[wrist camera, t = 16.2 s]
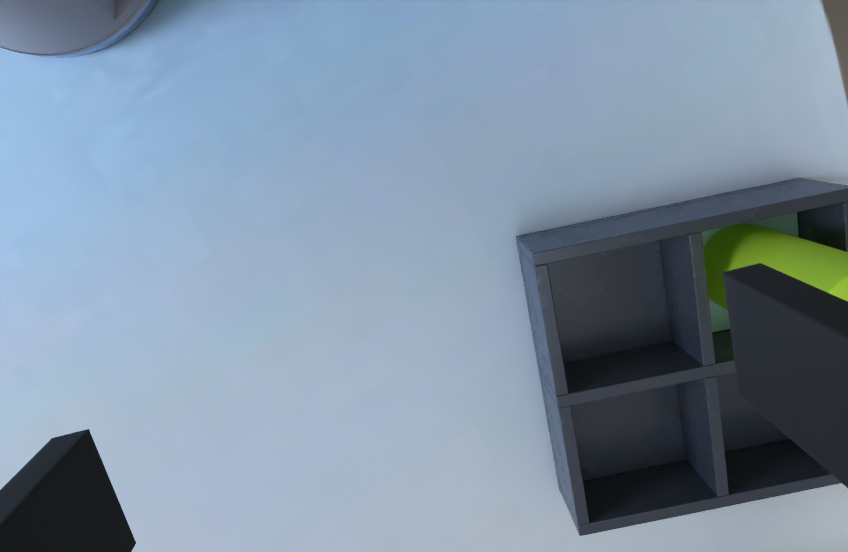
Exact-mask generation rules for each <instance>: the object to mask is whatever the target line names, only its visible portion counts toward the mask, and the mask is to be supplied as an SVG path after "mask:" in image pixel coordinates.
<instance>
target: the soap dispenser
mask: <svg viewBox="0 0 848 552" xmlns="http://www.w3.org/2000/svg"><path fill="white" fill-rule="evenodd" d="M703 249H704V258H705V268H706V277H707V287H708V297H709V299H710V300H711V301H713V302H714V303H716V304H717V305H719V306H721V307H723V308H724V309H726V310H728V308H727V300H726V293H725V285H724V277H723V272H726V271H730V270H734V269H738V268H742V267H746V266H750V265H754V264H758V263H762V264H764V265H766V266H768V267H771V268H773V269H775V270H778V271H780V272H782V273H784V274H787V275H789V276H791V277H793V278H796V279H798V280H800V281H802V282H805V283H807V284H809V285H812V286H814V287H816V288H818V289H821V290H823V291H825V292H827V293H830V294H832V295H834V296H836V297H839V298H841V299H843V300H845V301H848V252H845V251H842V250H838V249H835V248H832V247H828V246H825V245H822V244H819V243H815V242H812V241H809V240H805V239H802V238H799V237H795V236H792V235H789V234H785V233H782V232H779V231H776V230H772V229H769V228H766V227H762V226H759V225H756V224H750V223H741V224H737V225H732V226H728V227H726V228H724V229H722V230H720V231H719V232H717V233H716V234H715V235H714V236H712V237H711V238H710V239H709V241H708V242H707V243H706V244H705V246H704V248H703Z"/></svg>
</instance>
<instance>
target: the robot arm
mask: <svg viewBox="0 0 848 552" xmlns="http://www.w3.org/2000/svg"><path fill="white" fill-rule="evenodd" d="M156 2H157V0H0V47H1V48H4V49H7V50H11V51H15V52H19V53H25V54H31V55H37V56H44V57H73V56H80V55H85V54H89V53H92V52H96V51H98V50H101V49H104V48H106V47H108V46H110V45H112V44H114V43H116V42H118V41H119V40H121V39H122V38H124V37H125V36H127V35H128V34H129V33H130V32H131V31H133V30H134V29H135V28H136V27H137V26H138V25H139V24H140V23H141V22H142V21H143V20H144V19H145V17H146V16H147V15H148V14H149V12H150V11H151V10H152V8H153V7H154V5H155V3H156ZM723 277H724V285H725V293H726V300H727V308H728V315H729V323H730V331H731V338H732V346H733V354H734V361H735V369H736V376H737V384H738V392H739V396H740V397H741V398H743V399H744V400H745V401H746V402H747V403H748V404H750V405H751V406H752V407H753V408H754V409H755V410H757V411H758V412H759V413H760V414H761V415H763V416H764V417H765V418H766V419H767V420H768V421H770V422H771V423H772V424H773V425H774V426H776V427H777V428H778V429H779V430H780V431H781V432H783V433H784V434H785V435H786V436H787V437H789V438H790V439H791V440H792V441H793V442H794V443H796V444H797V445H798V446H799V447H800V448H801V449H803V450H804V451H805V452H806V453H807V454H809V455H810V456H811V457H812V458H813V459H814V460H816V461H817V462H818V463H819V464H820V465H822V466H823V467H824V468H825V469H826V470H827V471H829V472H830V473H831V474H832V475H833V476H834V477H836V478H837V479H838V480H839V481H840V482H842V483H843V484H844V485H845V486H846V487H847V488H848V301H845V300H843V299H841V298H839V297H836V296H834V295H832V294H830V293H827V292H825V291H823V290H821V289H818V288H816V287H814V286H812V285H809V284H807V283H805V282H802V281H800V280H798V279H796V278H793V277H791V276H789V275H787V274H784V273H782V272H780V271H778V270H775V269H773V268H771V267H768V266H766V265H764V264H762V263H758V264H754V265H750V266H746V267H742V268H738V269H734V270H730V271H726V272H723ZM135 544H136V542H135V539H134V537H133V535H132V532H131V530H130V527H129V525H128V523H127V520H126V518H125V515H124V513H123V511H122V508H121V506H120V503H119V501H118V499H117V496H116V494H115V491H114V489H113V487H112V484H111V482H110V479H109V477H108V475H107V472H106V470H105V467H104V465H103V463H102V460H101V458H100V455H99V453H98V451H97V448H96V446H95V443H94V441H93V439H92V436H91V434H90V431H89V429H88V430H84V431H80V432H76V433H71V434H67V435H63V436H59V437H55V438H52V439H51V440H50V441H49V442H48V443H47V444H46V445H45V446H44V447H43V448H42V449H41V450H40V451H39V452H38V453H37V454H36V455H35V456H34V457H33V458H32V459H31V460H30V461H29V462H28V463H27V464H26V465H25V466H24V467H23V468H22V469H21V470H20V471H19V472H18V473H17V474H16V475H15V476H14V477H13V478H12V479H11V480H10V481H9V482H8V483H7V484H6V485H5V486H4V487H3V488H2V489H1V490H0V552H131V551H132V549H133V547H134V546H135Z"/></svg>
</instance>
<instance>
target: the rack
mask: <svg viewBox="0 0 848 552" xmlns="http://www.w3.org/2000/svg"><path fill="white" fill-rule="evenodd" d="M741 223H750V224H756V225H759V226H762V227H766V228H769V229H772V230H776V231H779V232H782V233H785V234H789V235H792V236H795V237H799V238H802V239H805V240H809V241H812V242H815V243H819V244H822V245H825V246H828V247H832V248H835V249H838V250H842V251H845V252H848V186H847V185H840V184H834V183H828V182H821V181H815V180H809V179H802V178H796V179H791V180H786V181H781V182H777V183H772V184H767V185H762V186H757V187H752V188H748V189H743V190H738V191H733V192H728V193H723V194H719V195H714V196H709V197H704V198H699V199H694V200H689V201H685V202H680V203H675V204H670V205H665V206H660V207H656V208H651V209H646V210H641V211H636V212H631V213H627V214H622V215H617V216H612V217H607V218H602V219H598V220H593V221H588V222H583V223H578V224H573V225H569V226H564V227H559V228H554V229H549V230H544V231H540V232H535V233H530V234H525V235H520V236H516V240H517V246H518V252H519V258H520V264H521V269H522V275H523V281H524V287H525V293H526V298H527V304H528V310H529V316H530V322H531V328H532V333H533V339H534V345H535V351H536V357H537V362H538V368H539V374H540V380H541V386H542V391H543V397H544V403H545V409H546V415H547V420H548V426H549V432H550V438H551V444H552V450H553V455H554V461H555V467H556V473H557V479H558V484H559V489H560V491H561V494H562V496H563V498H564V501H565V503H566V505H567V508H568V510H569V512H570V514H571V517H572V519H573V521H574V524H575V526H576V528H577V530H578V533H579V535H580V536H582V535H587V534H592V533H597V532H602V531H607V530H612V529H617V528H622V527H627V526H632V525H636V524H641V523H646V522H651V521H656V520H661V519H666V518H671V517H676V516H681V515H686V514H691V513H696V512H700V511H705V510H710V509H715V508H720V507H725V506H730V505H735V504H740V503H745V502H750V501H755V500H760V499H765V498H769V497H774V496H779V495H784V494H789V493H794V492H799V491H804V490H809V489H814V488H819V487H824V486H829V485H834V484H838V483H842V482H840V481H839V480H838V479H837V478H836V477H834V476H833V475H832V474H831V473H830V472H829V471H827V470H826V469H825V468H824V467H823V466H822V465H820V464H819V463H818V462H817V461H816V460H814V459H813V458H812V457H811V456H810V455H809V454H807V453H806V452H805V451H804V450H803V449H801V448H800V447H799V446H798V445H797V444H796V443H794V442H793V441H792V440H791V439H790V438H789V437H787V436H786V435H785V434H784V433H783V432H781V431H780V430H779V429H778V428H777V427H776V426H774V425H773V424H772V423H771V422H770V421H768V420H767V419H766V418H765V417H764V416H763V415H761V414H760V413H759V412H758V411H757V410H755V409H754V408H753V407H752V406H751V405H750V404H748V403H747V402H746V401H745V400H744V399H743V398H741V397H740V396H739V392H738V384H737V376H736V369H735V361H734V354H733V346H732V338H731V331H730V323H729V315H728V310H726V309H724V308H723V307H721V306H719V305H717V304H716V303H714V302H713V301H711V300H710V299H709V297H708V287H707V277H706V268H705V258H704V249H703V248H704V246H705V244H706V243H707V242H708V241H709V239H710V238H711V237H712V236H714V235H715V234H716V233H717V232H719V231H720V230H722V229H724V228H726V227H728V226H732V225H737V224H741Z"/></svg>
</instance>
